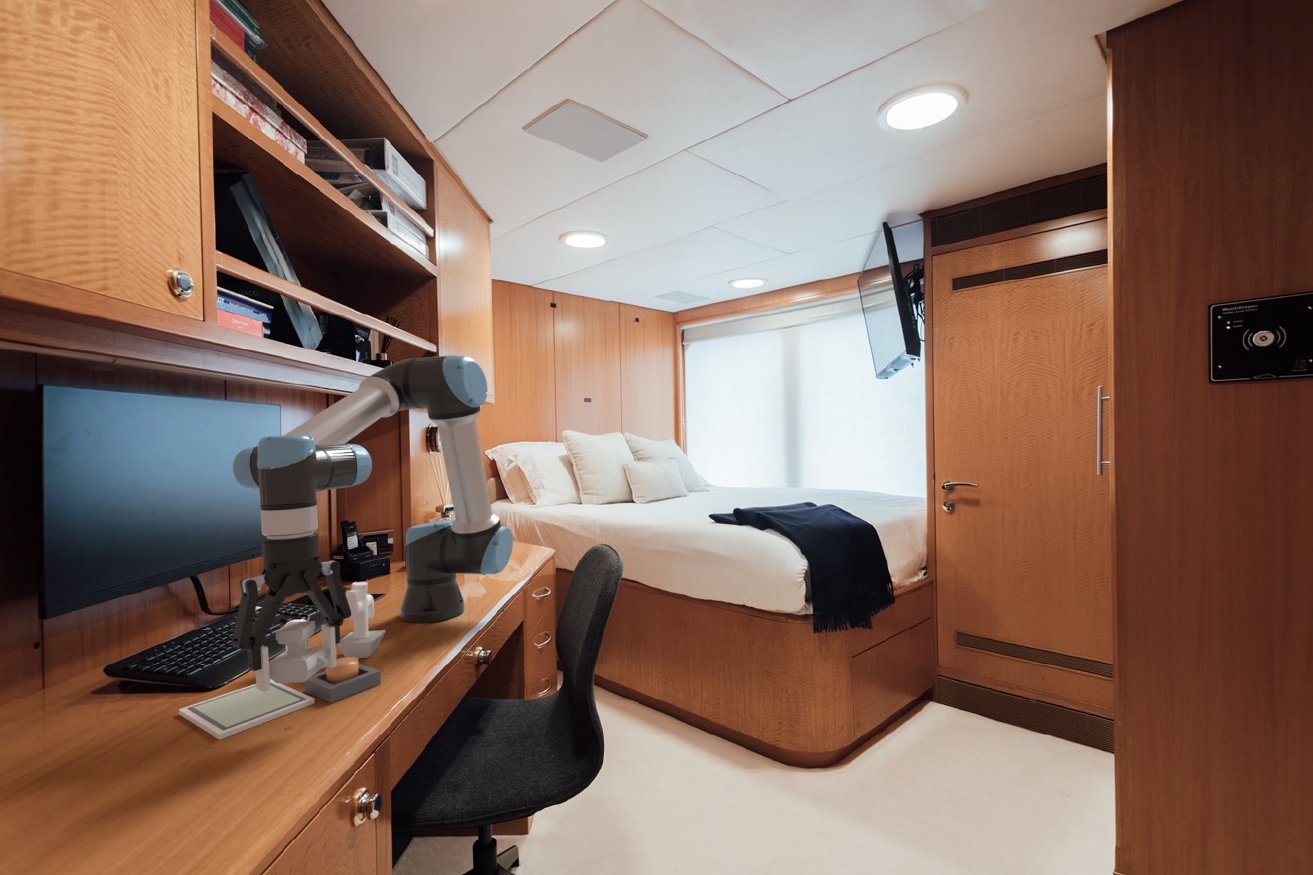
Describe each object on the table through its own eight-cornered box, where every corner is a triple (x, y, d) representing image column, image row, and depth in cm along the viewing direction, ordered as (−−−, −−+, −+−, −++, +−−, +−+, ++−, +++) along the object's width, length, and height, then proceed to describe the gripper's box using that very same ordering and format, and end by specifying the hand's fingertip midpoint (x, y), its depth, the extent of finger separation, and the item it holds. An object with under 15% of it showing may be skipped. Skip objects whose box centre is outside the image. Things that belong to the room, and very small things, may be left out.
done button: (349, 670, 112) (348, 654, 112) (364, 676, 109) (364, 660, 109) (320, 680, 108) (320, 664, 108) (336, 687, 105) (335, 670, 105)
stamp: (255, 689, 90) (252, 634, 90) (280, 671, 97) (277, 619, 97) (317, 686, 91) (314, 631, 91) (337, 667, 98) (335, 616, 97)
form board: (270, 683, 111) (270, 678, 111) (314, 703, 103) (314, 698, 103) (179, 714, 100) (178, 708, 100) (219, 739, 91) (219, 733, 91)
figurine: (388, 645, 130) (385, 576, 130) (370, 662, 121) (367, 587, 120) (353, 646, 129) (351, 577, 129) (333, 664, 120) (330, 589, 120)
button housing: (353, 673, 115) (353, 661, 115) (380, 683, 110) (380, 670, 110) (304, 691, 107) (304, 678, 107) (331, 703, 102) (330, 689, 102)
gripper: (347, 521, 104) (353, 648, 105) (197, 545, 86) (205, 699, 87) (371, 524, 100) (377, 657, 101) (219, 550, 82) (228, 712, 83)
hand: (298, 676), depth 94 cm, fingers closed on stamp, 9 cm apart
